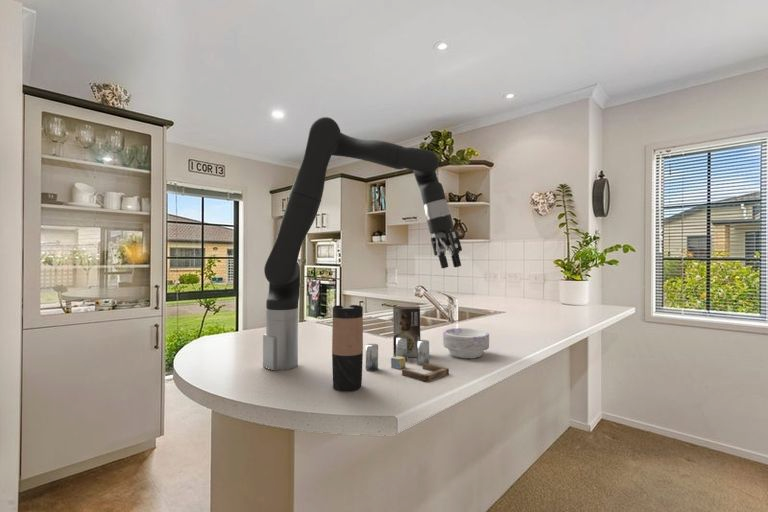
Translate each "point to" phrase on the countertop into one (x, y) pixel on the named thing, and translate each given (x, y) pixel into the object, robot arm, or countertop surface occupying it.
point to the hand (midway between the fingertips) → (451, 267)
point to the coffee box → (406, 327)
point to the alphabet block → (398, 362)
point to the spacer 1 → (371, 357)
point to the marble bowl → (465, 342)
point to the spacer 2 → (401, 347)
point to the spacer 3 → (422, 352)
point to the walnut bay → (427, 377)
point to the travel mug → (347, 347)
